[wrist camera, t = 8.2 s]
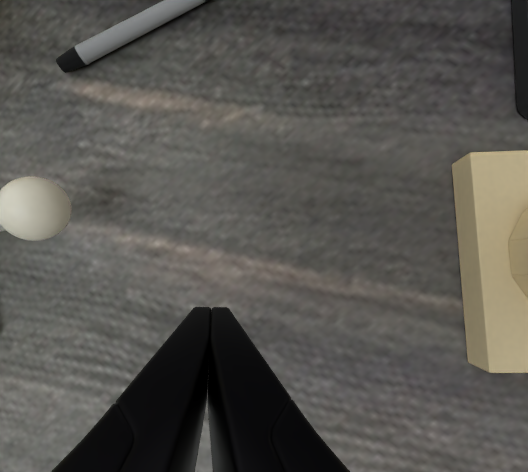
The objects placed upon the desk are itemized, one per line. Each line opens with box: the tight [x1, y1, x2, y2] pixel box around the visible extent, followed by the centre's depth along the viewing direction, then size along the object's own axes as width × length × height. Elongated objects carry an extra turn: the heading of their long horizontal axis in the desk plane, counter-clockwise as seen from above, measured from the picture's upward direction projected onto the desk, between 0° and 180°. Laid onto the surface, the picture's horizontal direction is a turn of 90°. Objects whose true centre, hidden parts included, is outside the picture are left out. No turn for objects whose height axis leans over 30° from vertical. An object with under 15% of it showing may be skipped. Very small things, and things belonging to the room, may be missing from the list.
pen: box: [56, 0, 209, 73], centre depth 23 cm, size 1×16×1 cm, turn 117°
